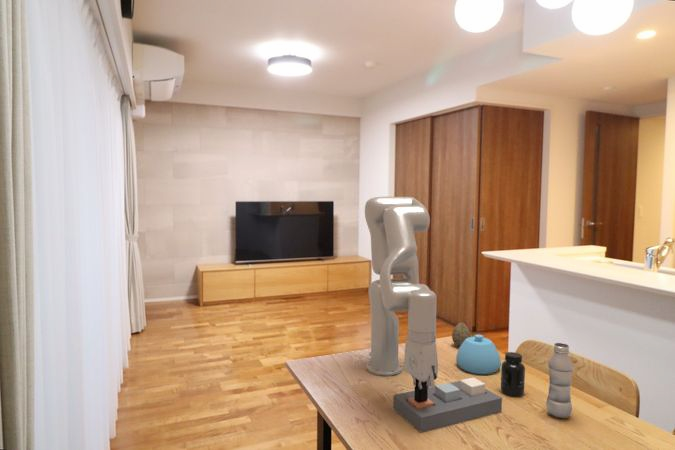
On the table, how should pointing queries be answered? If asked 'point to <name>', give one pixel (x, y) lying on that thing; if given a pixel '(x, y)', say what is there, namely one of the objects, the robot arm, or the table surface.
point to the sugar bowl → (478, 355)
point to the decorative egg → (460, 334)
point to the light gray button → (447, 392)
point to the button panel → (446, 408)
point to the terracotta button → (421, 404)
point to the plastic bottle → (560, 382)
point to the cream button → (472, 387)
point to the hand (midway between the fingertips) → (420, 400)
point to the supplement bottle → (513, 375)
